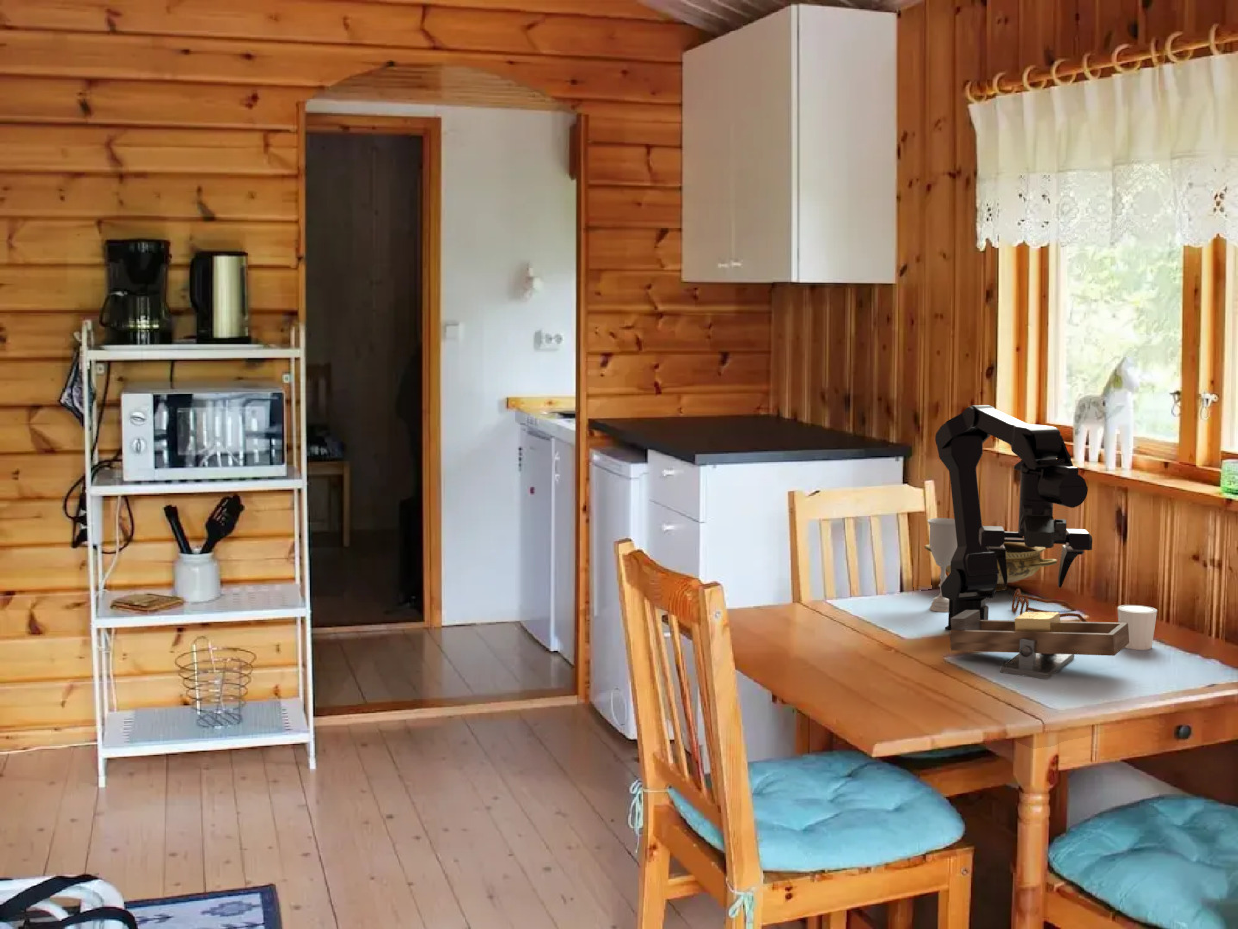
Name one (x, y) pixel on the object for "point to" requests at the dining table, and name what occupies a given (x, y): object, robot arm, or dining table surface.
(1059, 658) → the pivot stand
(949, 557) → the chalice
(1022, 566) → the ceramic bowl
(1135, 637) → the white cup
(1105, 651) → the beam
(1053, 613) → the brass block
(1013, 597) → the glasses
